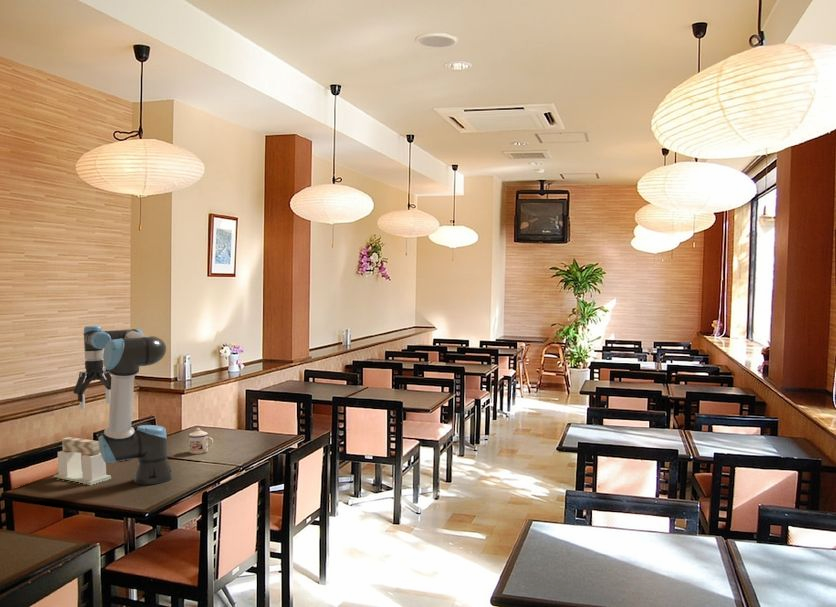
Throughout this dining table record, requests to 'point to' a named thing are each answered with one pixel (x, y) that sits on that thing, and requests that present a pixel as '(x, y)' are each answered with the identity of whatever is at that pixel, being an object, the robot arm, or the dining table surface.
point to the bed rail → (81, 446)
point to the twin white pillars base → (81, 468)
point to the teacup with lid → (199, 442)
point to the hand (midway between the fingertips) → (95, 406)
